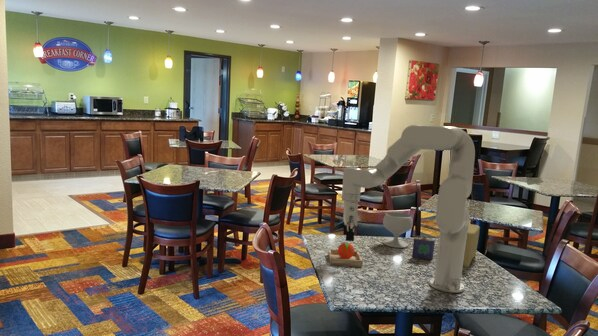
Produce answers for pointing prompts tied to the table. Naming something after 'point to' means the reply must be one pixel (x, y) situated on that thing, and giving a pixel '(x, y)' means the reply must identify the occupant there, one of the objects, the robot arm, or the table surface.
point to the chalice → (397, 227)
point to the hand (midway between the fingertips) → (348, 237)
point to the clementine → (345, 250)
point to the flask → (423, 248)
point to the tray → (352, 261)
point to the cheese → (471, 244)
